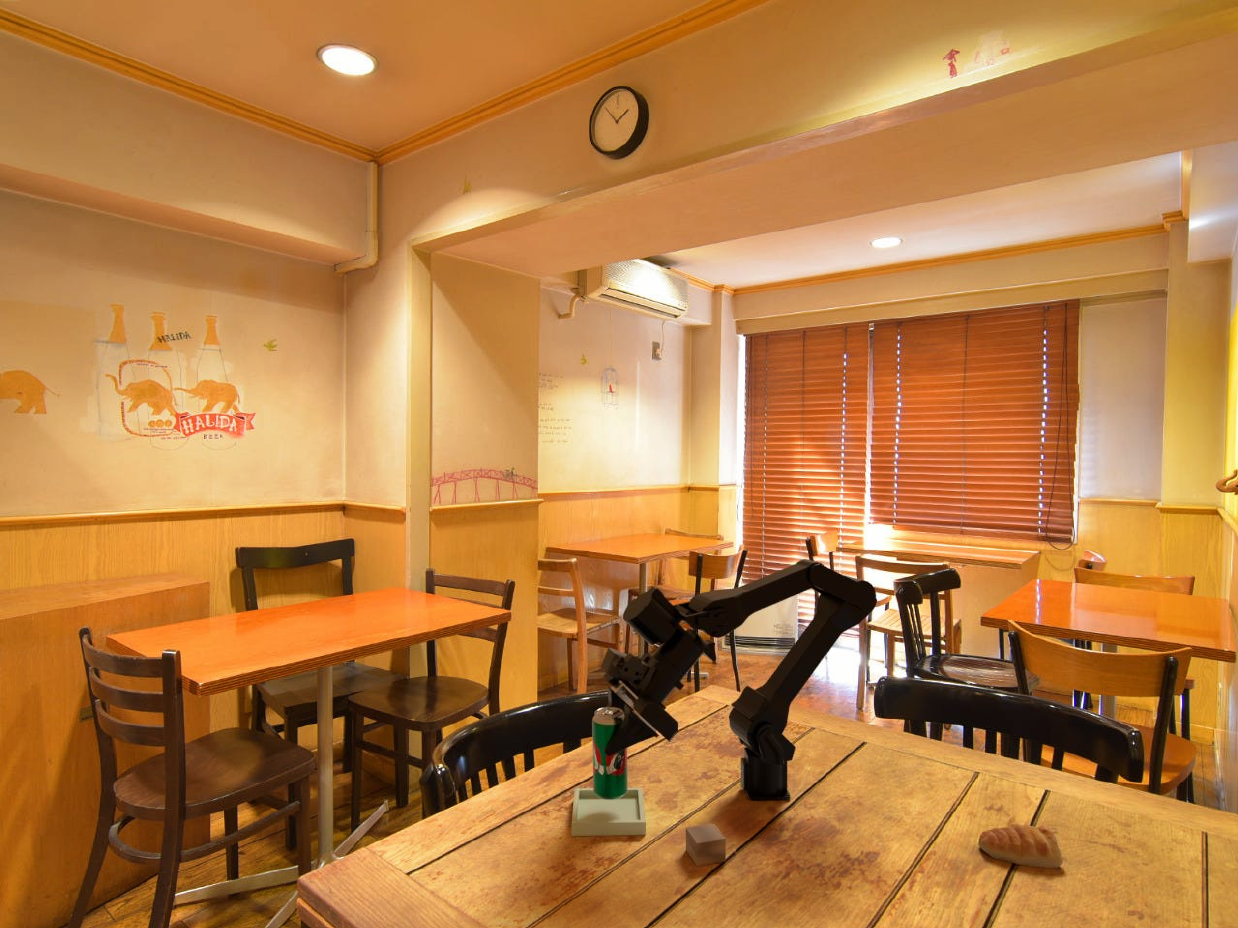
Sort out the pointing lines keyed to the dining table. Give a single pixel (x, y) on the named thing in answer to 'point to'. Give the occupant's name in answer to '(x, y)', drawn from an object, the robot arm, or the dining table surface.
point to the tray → (608, 814)
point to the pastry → (1022, 845)
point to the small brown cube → (705, 844)
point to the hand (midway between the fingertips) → (600, 746)
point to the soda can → (608, 768)
